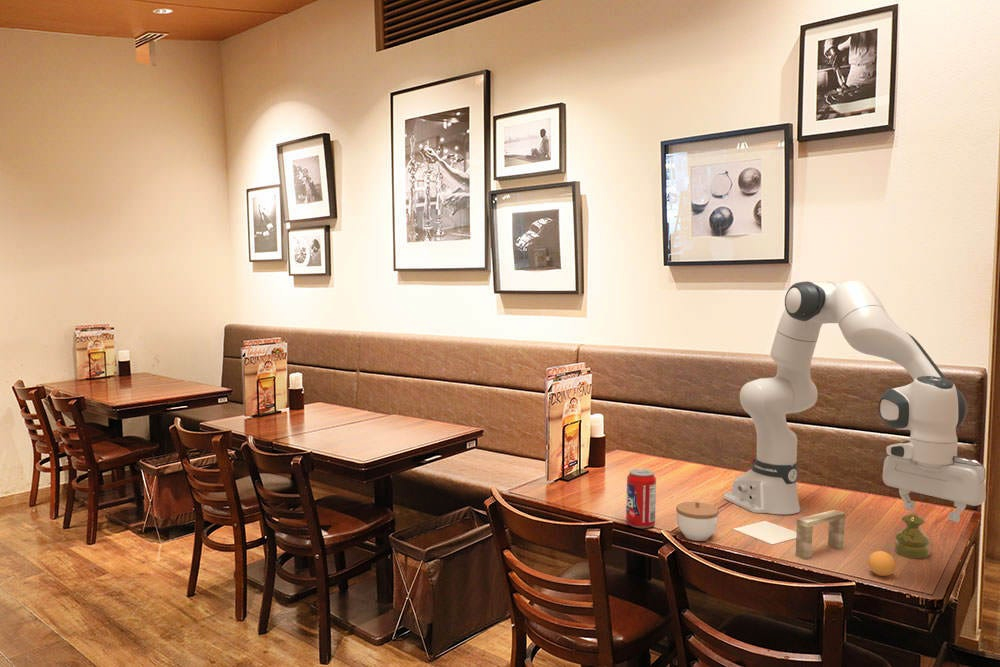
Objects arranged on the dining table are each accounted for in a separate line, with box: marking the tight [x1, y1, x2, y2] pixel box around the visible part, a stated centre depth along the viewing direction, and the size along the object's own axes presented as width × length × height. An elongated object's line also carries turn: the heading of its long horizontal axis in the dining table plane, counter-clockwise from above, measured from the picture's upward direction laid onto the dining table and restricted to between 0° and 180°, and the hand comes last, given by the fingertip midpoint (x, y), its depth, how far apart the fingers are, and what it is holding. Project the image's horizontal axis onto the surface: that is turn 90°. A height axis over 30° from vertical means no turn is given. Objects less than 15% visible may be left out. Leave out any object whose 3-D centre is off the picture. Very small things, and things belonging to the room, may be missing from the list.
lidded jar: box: [675, 500, 719, 542], centre depth 191 cm, size 11×11×9 cm
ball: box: [868, 550, 896, 577], centre depth 168 cm, size 6×6×6 cm
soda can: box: [625, 468, 657, 529], centre depth 200 cm, size 8×8×15 cm
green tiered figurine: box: [894, 513, 931, 560], centre depth 180 cm, size 7×7×10 cm
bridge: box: [795, 509, 846, 561], centre depth 181 cm, size 3×14×9 cm, turn 120°
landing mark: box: [732, 520, 797, 546], centre depth 195 cm, size 13×13×1 cm
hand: (931, 515), depth 158 cm, fingers open, 8 cm apart
